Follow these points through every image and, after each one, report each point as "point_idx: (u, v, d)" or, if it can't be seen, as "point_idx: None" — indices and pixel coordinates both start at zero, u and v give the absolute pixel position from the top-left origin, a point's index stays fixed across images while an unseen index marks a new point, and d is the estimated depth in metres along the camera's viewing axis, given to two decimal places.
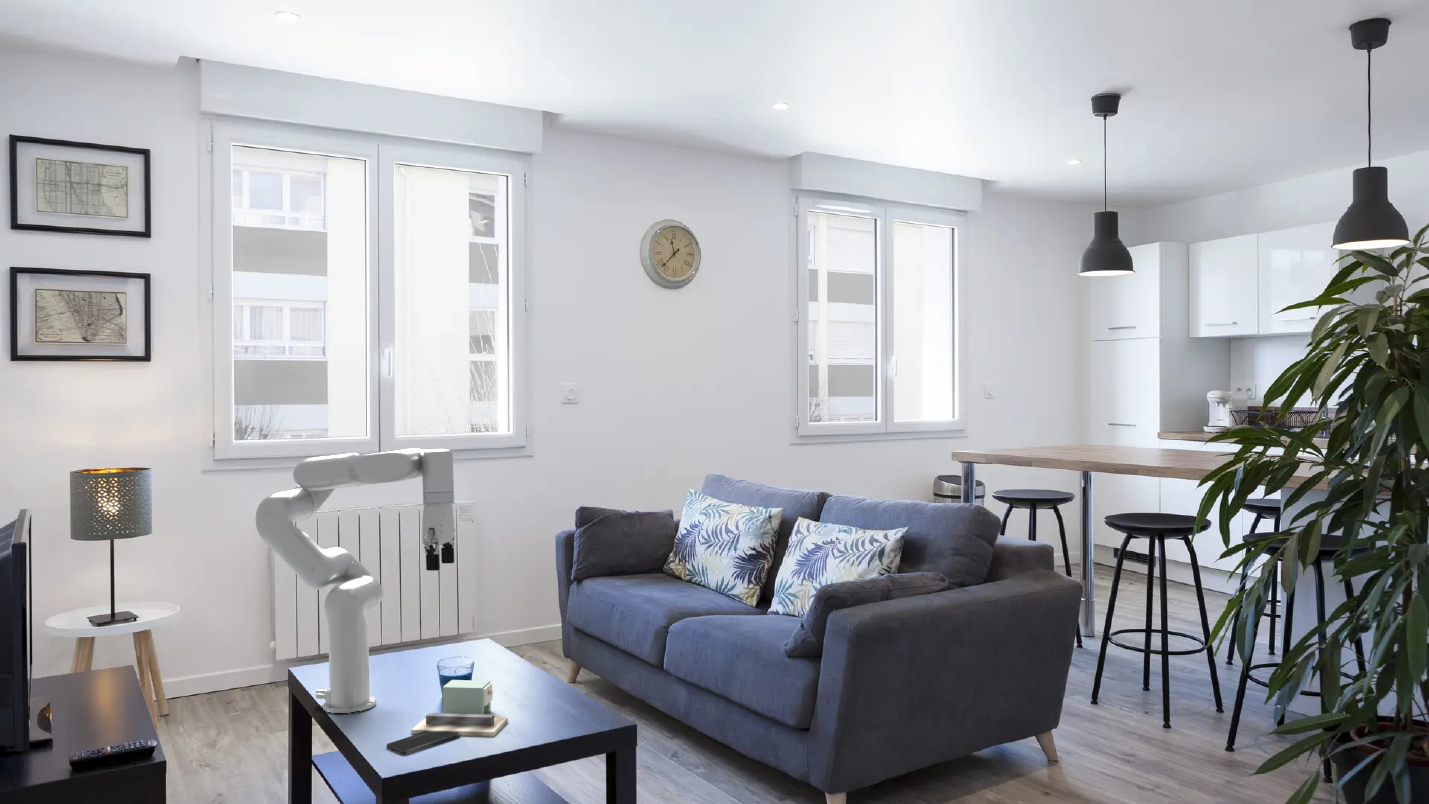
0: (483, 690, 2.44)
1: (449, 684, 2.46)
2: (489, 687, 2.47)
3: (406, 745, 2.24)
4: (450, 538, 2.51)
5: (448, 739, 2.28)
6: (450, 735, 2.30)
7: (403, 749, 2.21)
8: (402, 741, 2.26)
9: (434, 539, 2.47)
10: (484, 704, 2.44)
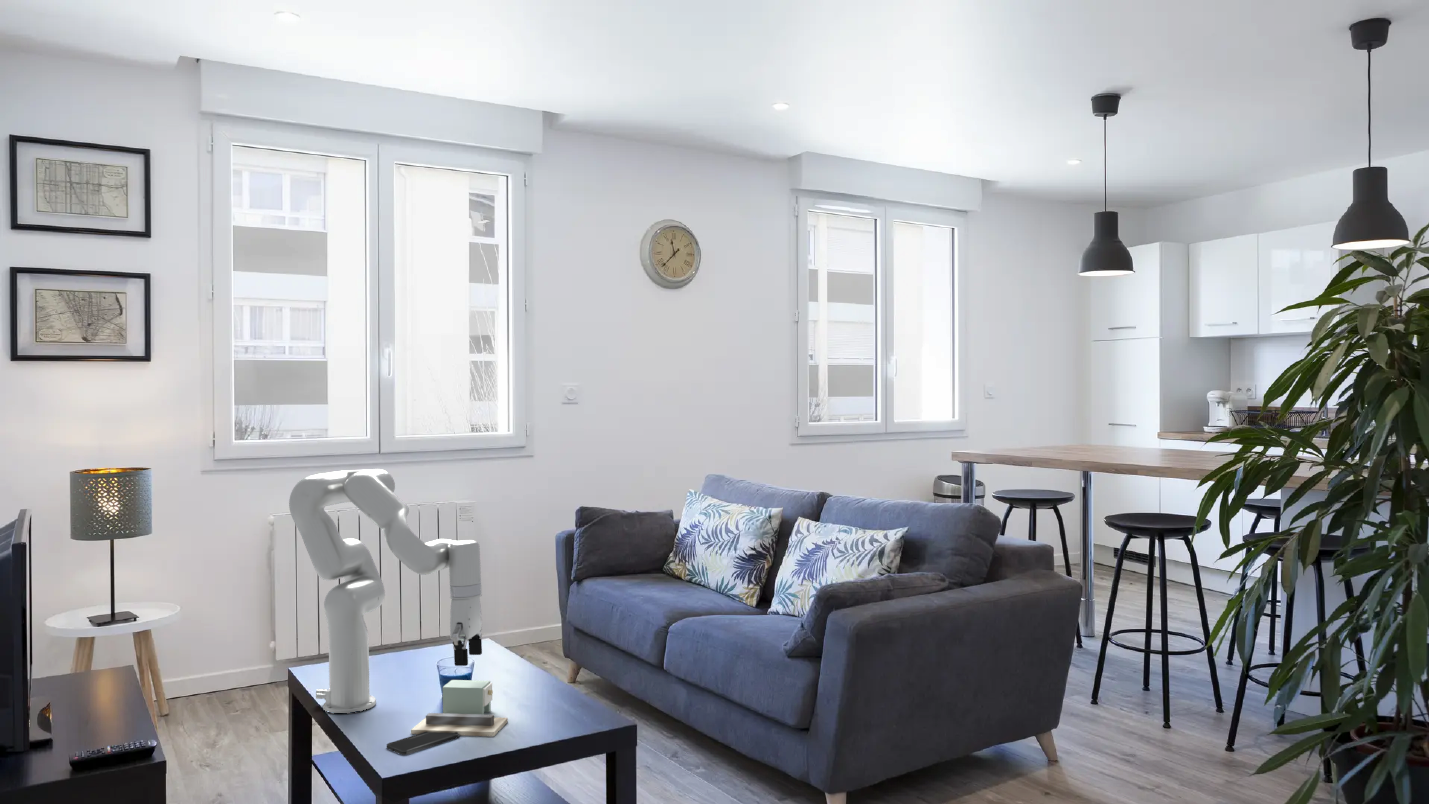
0: (483, 690, 2.44)
1: (449, 684, 2.46)
2: (489, 687, 2.47)
3: (406, 745, 2.24)
4: (478, 630, 2.48)
5: (448, 739, 2.28)
6: (450, 735, 2.30)
7: (403, 749, 2.21)
8: (402, 741, 2.26)
9: (462, 633, 2.43)
10: (484, 704, 2.44)
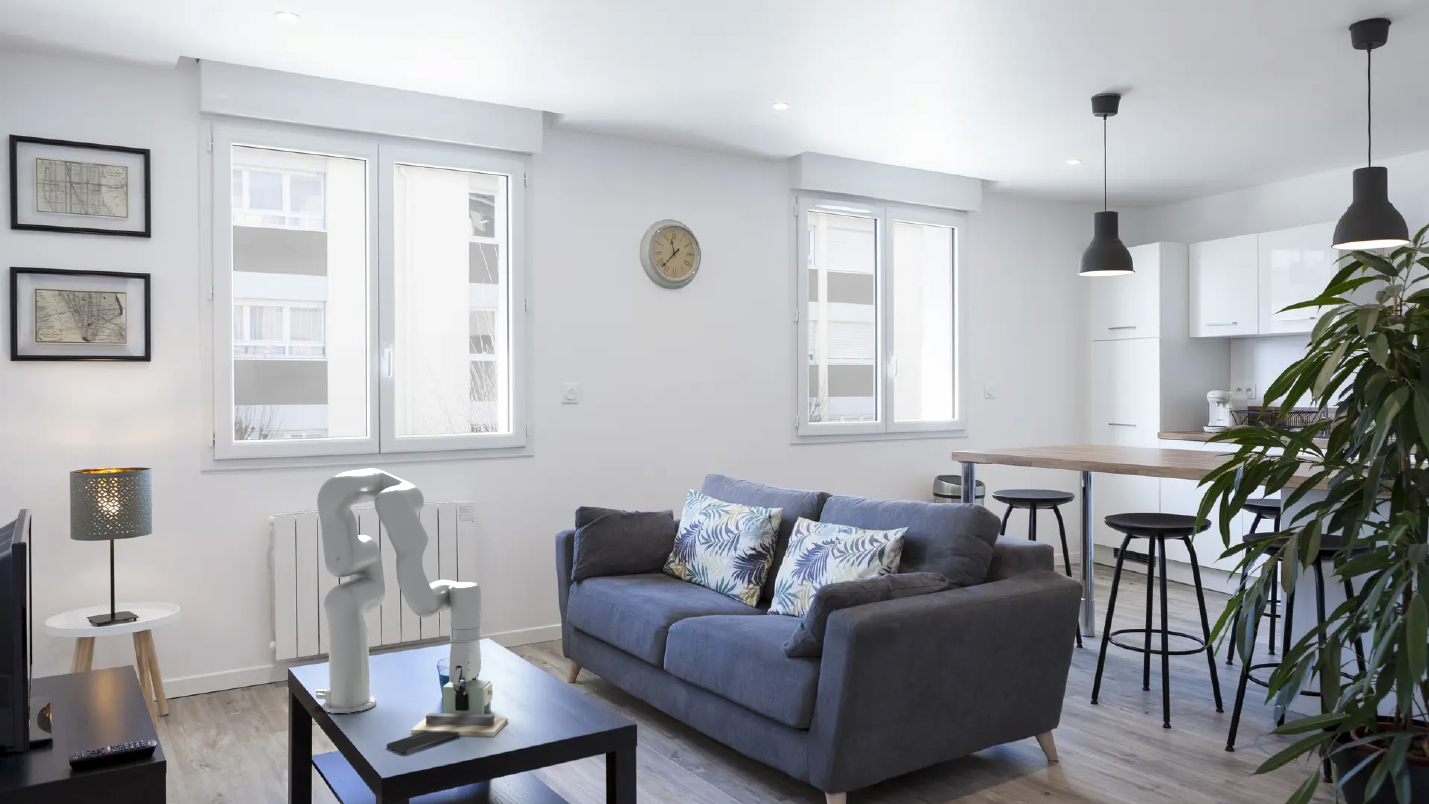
0: (483, 690, 2.44)
1: (449, 684, 2.46)
2: (489, 687, 2.47)
3: (406, 745, 2.24)
4: (477, 673, 2.48)
5: (448, 739, 2.28)
6: (450, 735, 2.30)
7: (403, 749, 2.21)
8: (402, 741, 2.26)
9: None
10: (484, 704, 2.44)
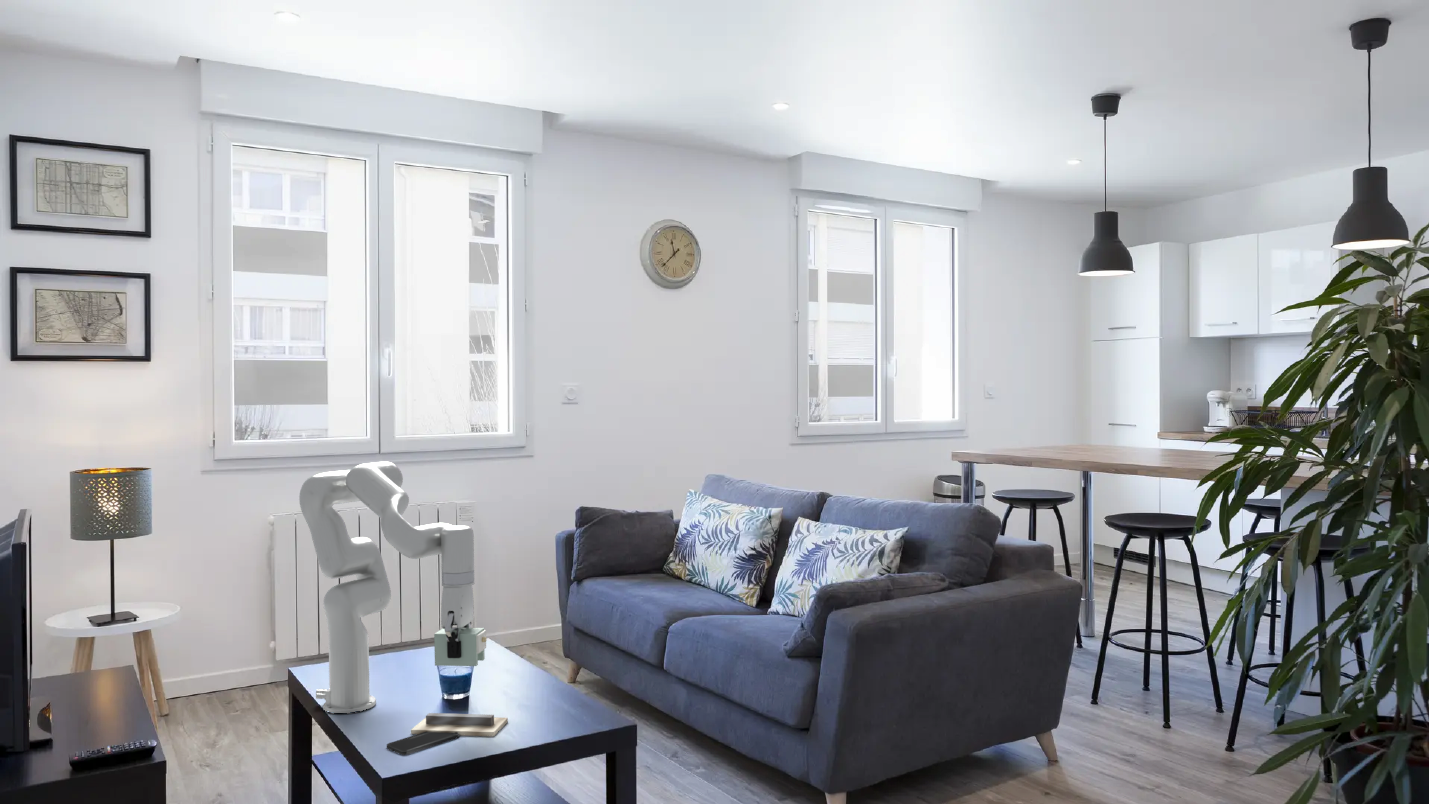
0: (477, 636, 2.34)
1: (441, 631, 2.37)
2: (483, 634, 2.37)
3: (406, 745, 2.24)
4: (470, 620, 2.38)
5: (448, 739, 2.28)
6: (450, 735, 2.30)
7: (403, 749, 2.21)
8: (402, 741, 2.26)
9: None
10: (478, 651, 2.34)
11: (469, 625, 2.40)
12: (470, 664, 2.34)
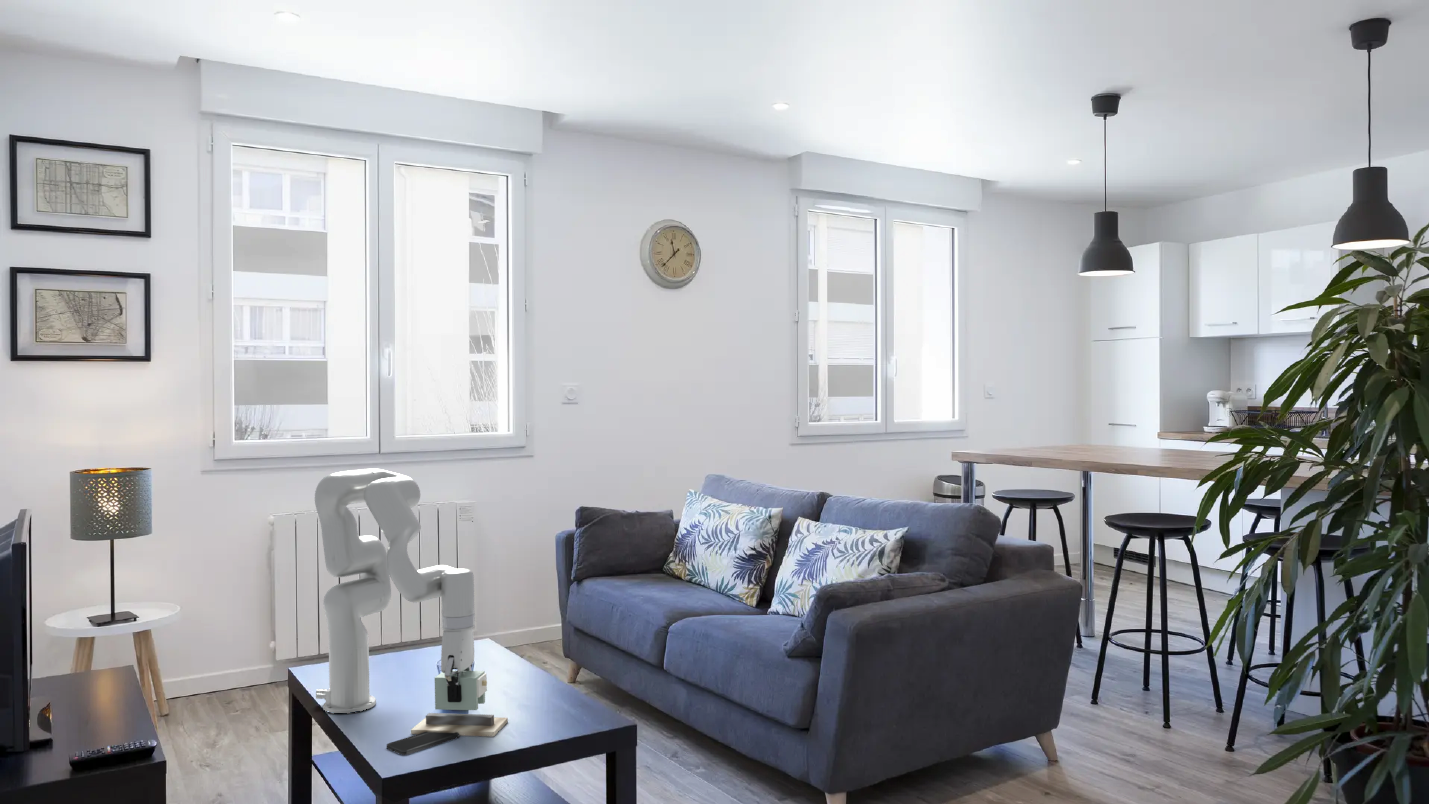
0: (477, 680, 2.33)
1: (441, 674, 2.36)
2: (483, 677, 2.37)
3: (406, 745, 2.24)
4: (470, 663, 2.38)
5: (448, 739, 2.28)
6: (450, 735, 2.30)
7: (403, 749, 2.21)
8: (402, 741, 2.26)
9: None
10: (478, 695, 2.33)
11: (469, 668, 2.40)
12: (470, 708, 2.33)
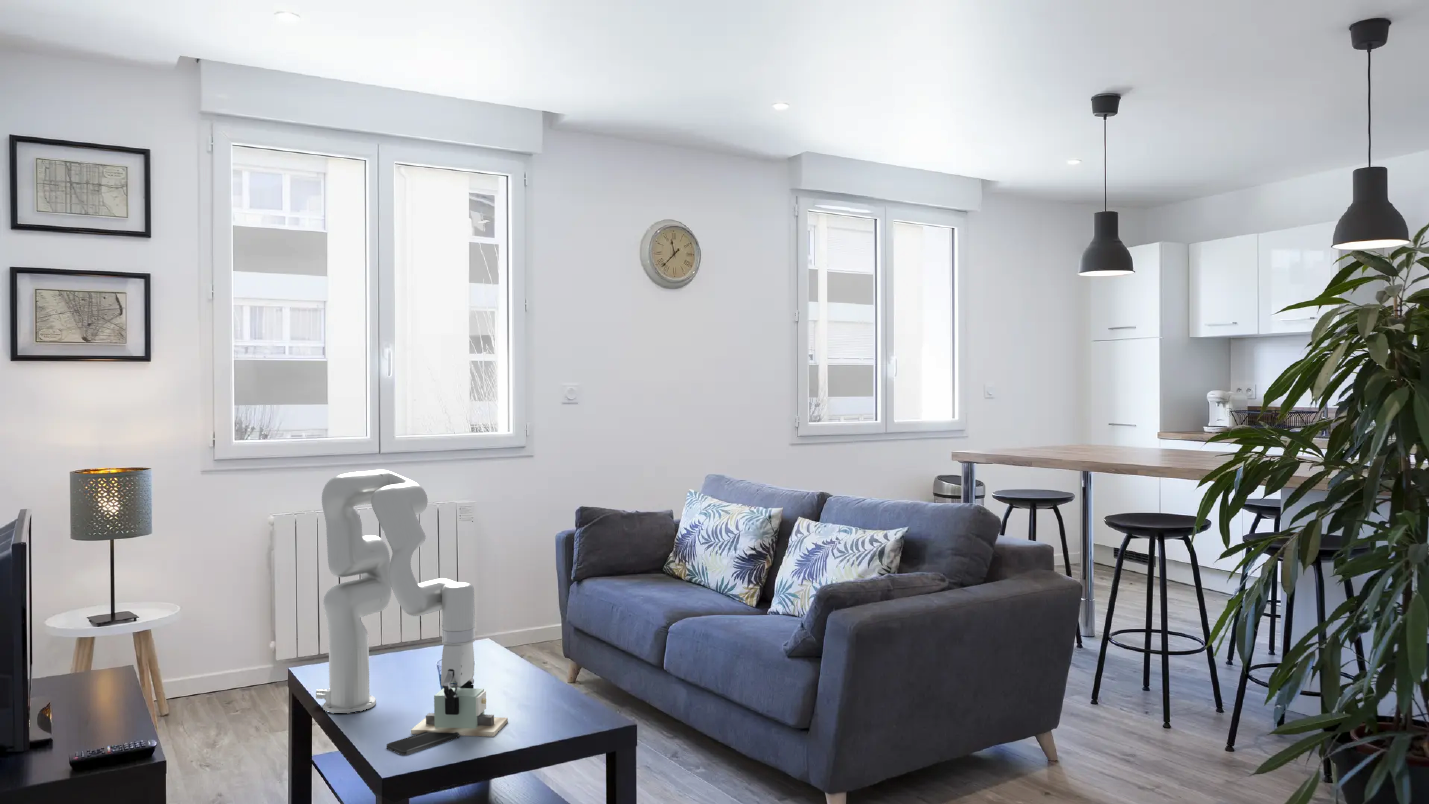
0: (476, 699, 2.33)
1: (441, 692, 2.36)
2: (483, 695, 2.37)
3: (406, 745, 2.24)
4: (470, 676, 2.38)
5: (448, 739, 2.28)
6: (450, 735, 2.30)
7: (403, 749, 2.21)
8: (402, 741, 2.26)
9: (454, 680, 2.33)
10: (477, 713, 2.34)
11: (471, 676, 2.41)
12: (470, 726, 2.33)
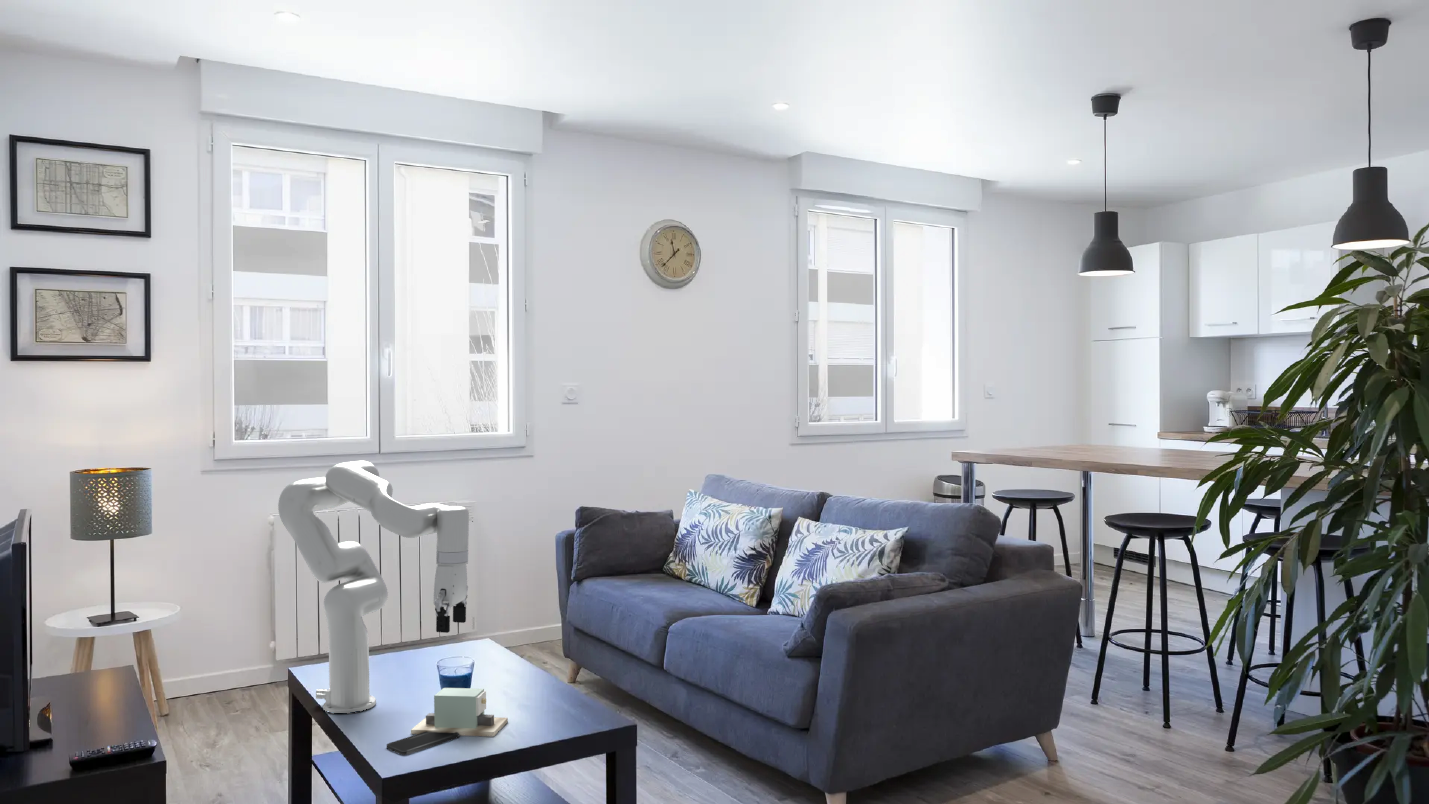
0: (476, 699, 2.33)
1: (441, 692, 2.36)
2: (483, 695, 2.37)
3: (406, 745, 2.24)
4: (462, 598, 2.45)
5: (448, 739, 2.28)
6: (450, 735, 2.30)
7: (403, 749, 2.21)
8: (402, 741, 2.26)
9: (446, 600, 2.40)
10: (477, 713, 2.34)
11: (464, 598, 2.48)
12: (470, 726, 2.33)
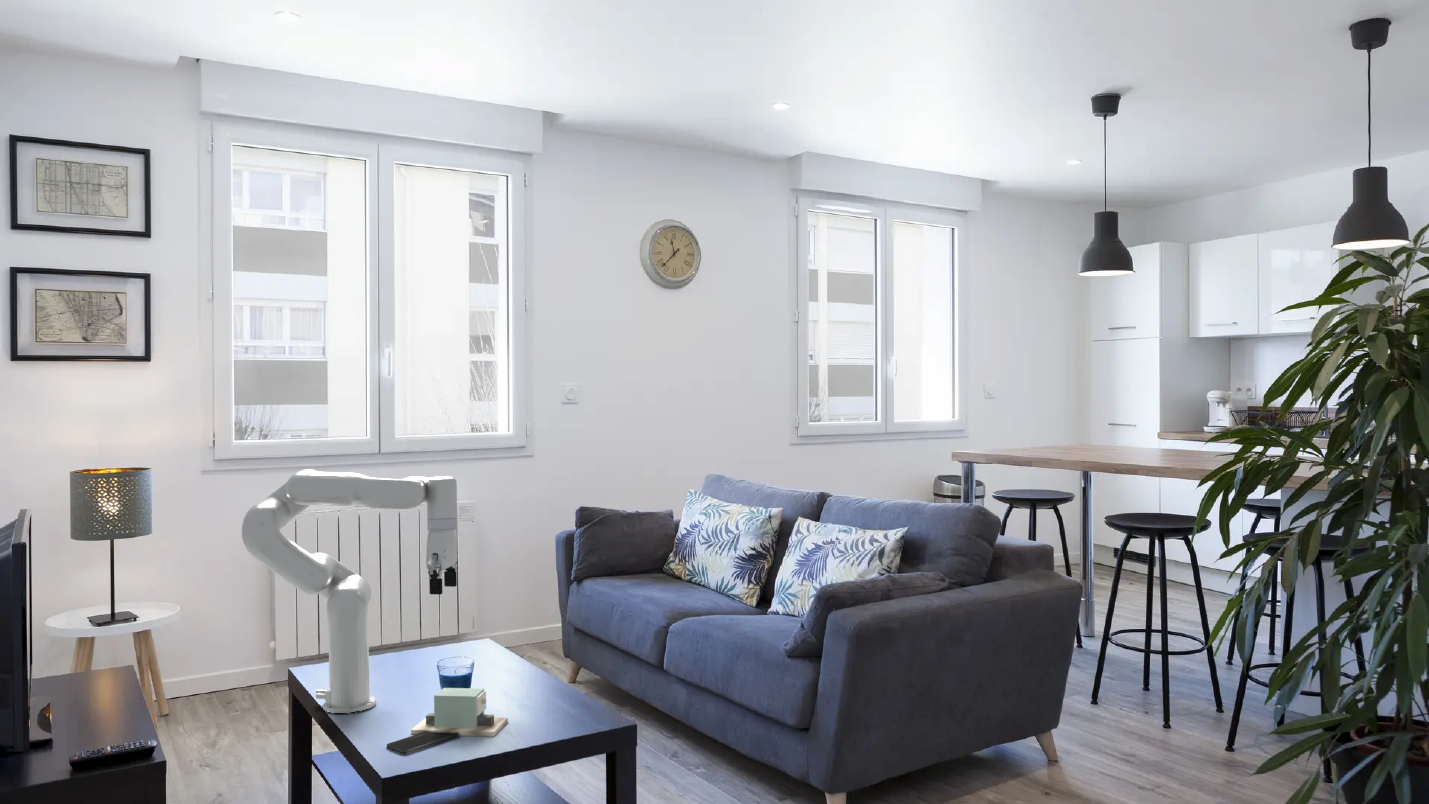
0: (476, 699, 2.33)
1: (441, 692, 2.36)
2: (483, 695, 2.37)
3: (406, 745, 2.24)
4: (453, 562, 2.60)
5: (448, 739, 2.28)
6: (450, 735, 2.30)
7: (403, 749, 2.21)
8: (402, 741, 2.26)
9: (437, 564, 2.55)
10: (477, 713, 2.34)
11: (455, 563, 2.63)
12: (470, 726, 2.33)
